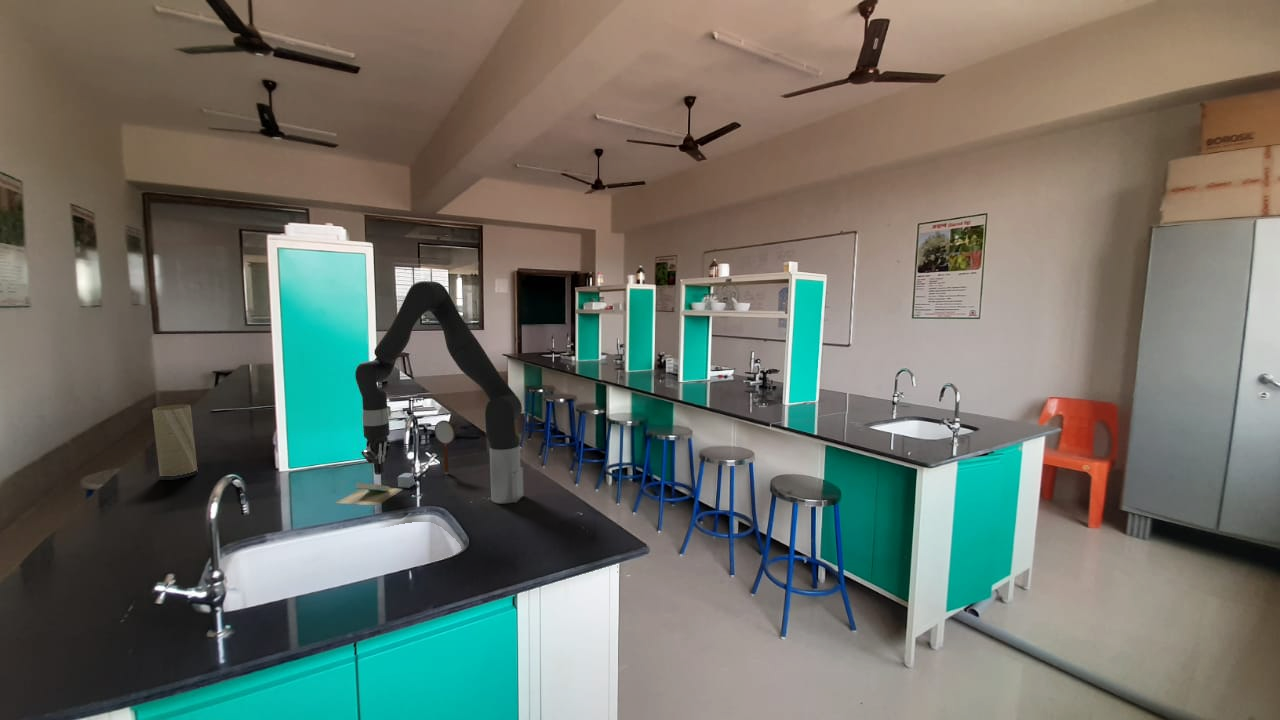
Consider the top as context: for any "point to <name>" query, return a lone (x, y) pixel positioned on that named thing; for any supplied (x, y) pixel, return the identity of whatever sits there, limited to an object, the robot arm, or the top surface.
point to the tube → (174, 440)
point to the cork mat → (369, 497)
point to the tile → (372, 487)
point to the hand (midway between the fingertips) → (379, 473)
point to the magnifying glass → (445, 437)
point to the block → (406, 480)
